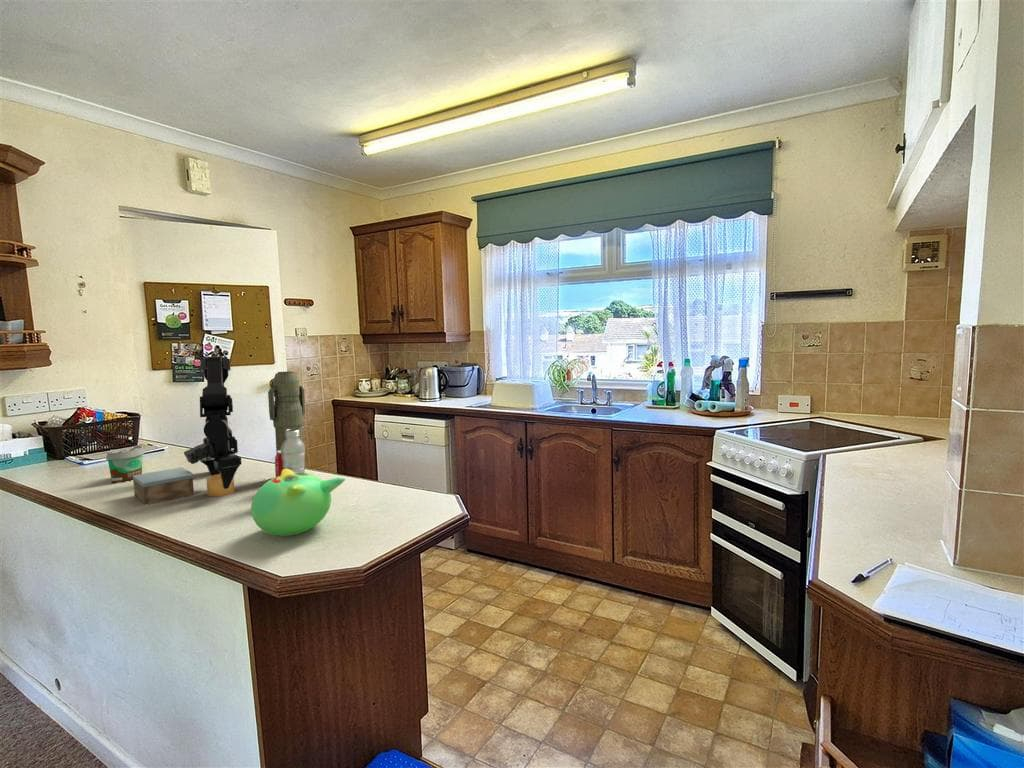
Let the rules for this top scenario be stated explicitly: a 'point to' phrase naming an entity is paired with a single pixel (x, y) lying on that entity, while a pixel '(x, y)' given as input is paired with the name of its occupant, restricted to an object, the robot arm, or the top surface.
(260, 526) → the green toy creature
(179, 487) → the walnut box
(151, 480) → the lid
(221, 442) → the robot arm
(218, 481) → the short orange cylinder
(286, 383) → the headless coat mannequin
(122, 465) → the food container
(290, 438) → the plastic bottle
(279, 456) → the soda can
